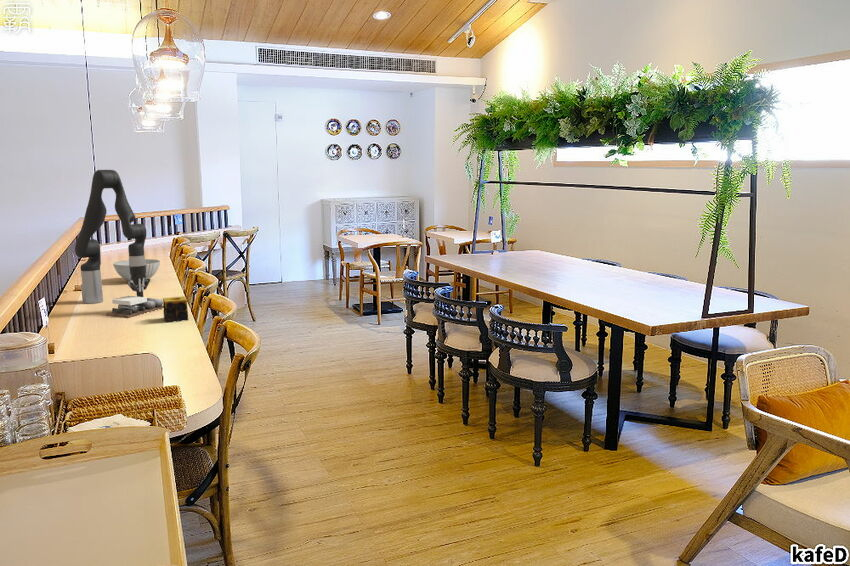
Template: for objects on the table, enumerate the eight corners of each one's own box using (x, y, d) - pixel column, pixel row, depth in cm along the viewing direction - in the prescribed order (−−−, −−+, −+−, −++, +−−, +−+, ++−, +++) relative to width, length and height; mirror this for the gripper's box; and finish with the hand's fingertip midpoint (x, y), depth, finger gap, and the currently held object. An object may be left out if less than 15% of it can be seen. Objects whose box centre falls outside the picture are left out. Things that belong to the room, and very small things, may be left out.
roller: (118, 311, 319) (117, 303, 318) (124, 310, 322) (124, 302, 322) (133, 313, 315) (132, 304, 314) (139, 312, 318) (139, 303, 318)
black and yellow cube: (165, 323, 300) (164, 301, 298) (163, 318, 309) (161, 297, 307) (188, 320, 305) (187, 299, 303) (185, 316, 314) (184, 295, 312)
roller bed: (106, 315, 315) (105, 305, 314) (145, 305, 337) (145, 296, 336) (128, 318, 310) (127, 307, 309) (166, 307, 331) (165, 298, 330)
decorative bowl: (150, 285, 394) (148, 265, 392) (106, 285, 395) (104, 265, 393) (168, 277, 421) (166, 259, 419) (127, 277, 421) (125, 259, 419)
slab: (112, 303, 317) (112, 299, 316) (129, 299, 326) (128, 295, 325) (130, 305, 312) (130, 301, 311) (147, 301, 321) (146, 297, 320)
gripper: (142, 262, 329) (145, 295, 332) (121, 266, 317) (124, 300, 320) (153, 263, 326) (156, 297, 329) (132, 266, 314) (135, 302, 317)
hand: (140, 298), depth 325 cm, fingers closed
